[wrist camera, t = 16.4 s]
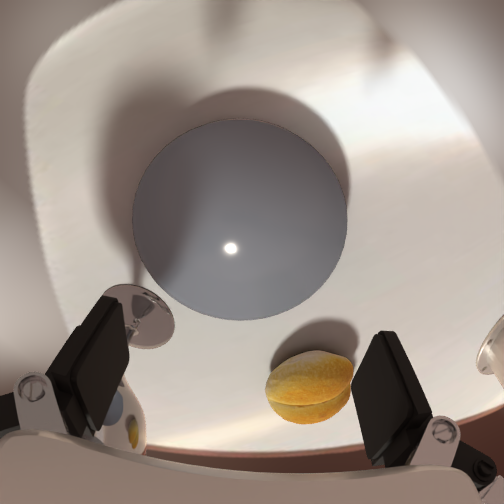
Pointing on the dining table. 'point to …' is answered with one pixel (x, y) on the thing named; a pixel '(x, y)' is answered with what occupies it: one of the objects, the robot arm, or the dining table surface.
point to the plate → (239, 219)
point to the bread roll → (310, 386)
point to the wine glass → (124, 402)
